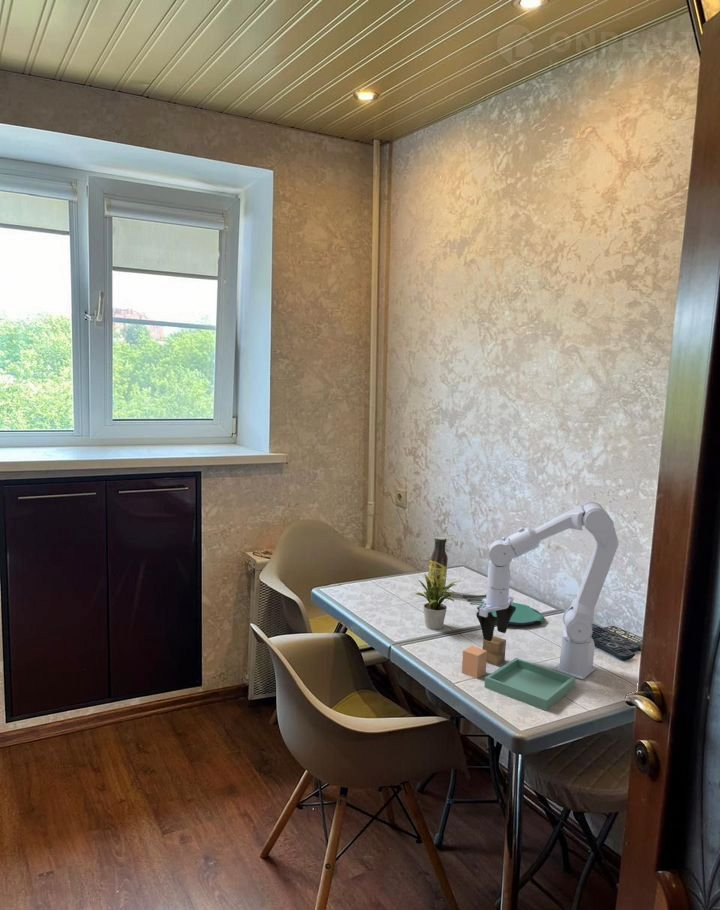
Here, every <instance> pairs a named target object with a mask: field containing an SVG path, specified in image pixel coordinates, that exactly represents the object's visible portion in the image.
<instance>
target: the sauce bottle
mask: <svg viewBox="0 0 720 910" xmlns="http://www.w3.org/2000/svg"><path fill="white" fill-rule="evenodd" d="M446 544H447V537H445V536H439V535H438V536H435V537H434V547H433V551H432V553H431V556H430V559H429V561H428V562H429V564H428V574H427V575H428V576H427V577H428V578H429V580H430V581H432V582H433V583H434V578H433V574H434V576H435V579H436V583H437V586H438V583H439V581H440V580H441V578H442V576H443V574H444V577H445V576H447V575H448V573H447V572H448V560H449V559H448V555H447V553H446ZM446 581H447V578H446V579H445V583H444V585H443V587H442V588H444V587H446V586H447V585H446V583H447V582H446ZM432 582H431V585H432V587H433V584H432ZM443 590H444V589H443ZM443 590H442V591H443ZM442 591H441V592H442ZM441 592H440V593H441ZM444 592H445V591H444Z"/></svg>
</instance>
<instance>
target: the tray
mask: <svg viewBox="0 0 720 910" xmlns="http://www.w3.org/2000/svg"><path fill="white" fill-rule="evenodd" d="M575 684H576V677H573V676H570V675H567V674H564V673H561V672H558V671H555V670H553V669H551V668H548V667H545V666H541V665H539V664H536V663H533V662H531V661H528V660H525V659H521V658H518V657H515V658H514V659H512V660H510V661H509V662H507V663H505V664H504V665H502V666H501V667H499V668H498V669H496V670H494V671H493V672H491V673H490V674H488V675H487V676H485V677H484V688H485V689H488V690H490V691H493V692H496V693H499V694H501V695H503V696H507V697H509V698H511V699H514V700H517V701H519V702H522V703H524V704H527V705H530V706H533V707H535V708H538V709H540V710H543V711H548V710H549V709H550V708H551V707H552V706H554V705H555V704H556V703H557V702H559V701H560V700H562V699H563V697H565V696H566V695H568V693H569V692H571V691H572V690H573V689H575V686H576V685H575Z"/></svg>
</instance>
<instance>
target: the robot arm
mask: <svg viewBox="0 0 720 910" xmlns="http://www.w3.org/2000/svg"><path fill="white" fill-rule="evenodd" d="M583 526H584V528H585V529H586V530H587V531H588V533H590V534H591V535H592V536H593V538H594V540H595V542H596V543H595V546H594V549H593V551H592V555H591V557H590V560H589V562H588V565H587V568H586V571H585V573H584V576H583V579H582V581H581V584H580V587H579V589H578V592H577V595H576V597H575V599H574V600H572V602H571V605H570V607H568V609H566V610H565V611H564V613H563V617H562V620H563V623H564V625H565V629H564V630H563V632H562V633H561V642H560V653H559V663H558V664H556V666H553V669H552V670H554V671H557V672H560V673H563V674H566V675H569V676H572V677H575V679H580V680H584V679H586V678H587V677H589V675H590V674H591V673H592V672H594V671H595V670H596V669H597V666H596V665H594V658H595V657H594V655H595V645H596V644H595V641H594V639H593V638H592V635H593V621H594V619H595V617H594V616H595V609H596V608H595V607H596V605H597V603H598V599H599V597H600V594H601V592H602V589H603V587H604V584H605V581H606V578H607V576H608V574H609V571H610V568H611V566H612V563H613V561H614V558H615V555H616V552H617V550H618V548H619V539H618V536H617V531H616V528H615V524H614V520H613V519H612V517H610V515H609V514H608V512H607V511H606V510H605V509H604V508H603V506H602V505H601V504H599V503H598V502H595V501H587V502H585V503H584V504H582V505H577V506H576V507H573V508H571V509H569V510H568V511H566V512H564V513H562V514H560V515H558V516H556V517H555V518H553V519H551V520H549V521H547V522H545V523H543V524H541V525H540V526H537V527H536V528H532V527H527V526H526V527H525V528H524V527H523V526H521V527H519V528H518V529H517V530H518V531H517V532H514V533H512V534H511V535H508V536H507V537H506V536H503V537H501V539H500V540H499V539H497V540H495V541H493V542H491V544H490V546H489V548H488V556H489V561H488V568H487V579H486V580H487V581H486V594H485V595H486V597H483V598H484V599H483V600H481V602H483V603H484V604H483V603H482V604H483V606H482V607H481V608H480V611H477V612H476V615H475V616H476V618H477V620H478V622H479V625H480V628H481V633H482V637H483V639H484V640H487V641H491V640H492V638H493V636H494V631H495V627H496V628H497V629H496V630H497V632H499V633H503V634H506V633H507V630H508V626H509V625H510V624H509V621H510V619H511V617H512V615H513V613H514V612H515V610H516V607H514V606H511V605H512V604H513V602H514V597H513V596H511V595H509V593H510V582H511V581H510V580H511V579H510V578H511V570H510V567H511V566H510V565H511V562H512V561H513V559H514V558H518V557H521V556H523V555H525V554H526V553H530V552H532V551H533V550H535V549H537V548H539V546H540V543H541V541H542V540H546V539H547V538H550V537H552V536H554V535H557V534H559V533H562V532H564V531H566V530H569V529H571V530H578V531H583ZM494 611H496V615H497V617H494V616H493V615H492V612H494ZM496 622H497V623H496Z"/></svg>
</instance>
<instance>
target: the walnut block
mask: <svg viewBox="0 0 720 910" xmlns="http://www.w3.org/2000/svg"><path fill="white" fill-rule="evenodd" d="M506 645H507V639H505V638H501V637H498V636H496V635H493V638H492V640H491V641H487V640H484V639H483V640H482V649H483V650H486V651H487V660H486V664H489V665H492V666H495V667H497V666H500V665H501V664H502V663H504V662H506Z"/></svg>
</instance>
